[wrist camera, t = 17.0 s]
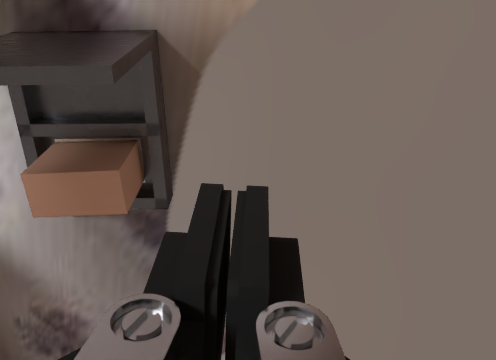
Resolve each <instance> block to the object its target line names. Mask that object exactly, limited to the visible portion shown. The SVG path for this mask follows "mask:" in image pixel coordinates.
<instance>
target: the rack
mask: <svg viewBox="0 0 496 360" xmlns="http://www.w3.org/2000/svg"><path fill="white" fill-rule="evenodd" d="M0 85H8V89H9V93H10V97H11V102H12V106H13V110H14V114H15V118H16V122H17V126H18V130H19V134H20V138H21V143H22V147H23V151H24V155H25V159H26V163H27V167H29V166H30V165H31V164H32V163H33V162H34V161H35V160H36V159H38V158H39V157H40V156H41V155H42V154H43V153H44V152H45V151H46V150H47V149H48V148H49V147H50V146H51V145H53V144H54V143H65V142H88V141H111V140H133V139H139V144H140V149H141V155H142V161H143V167H144V173H145V180H144V182H143V184H142V186H141V188H140V190H139V192H138V194H137V196H136V198H135V200H134V202H133V204H132V206H131V207H130V209H168V207H169V204H170V201H171V198H172V196H173V192H172V182H171V172H170V162H169V151H168V141H167V131H166V121H165V110H164V100H163V90H162V80H161V70H160V59H159V49H158V39H157V30H137V31H64V32H12V33H9V34H6V35H3V36H0Z"/></svg>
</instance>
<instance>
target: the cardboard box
mask: <svg viewBox="0 0 496 360" xmlns="http://www.w3.org/2000/svg"><path fill="white" fill-rule="evenodd" d="M21 178H22V181H23V184H24V188H25V191H26V195H27V198H28V201H29V205H30V208H31V212H32V215H33V217H59V216H86V215H113V214H127V213H128V211H129V209H130V207H131V206H132V204H133V202H134V200H135V198H136V196H137V194H138V192H139V190H140V188H141V186H142V184H143V182H144V180H145V173H144V167H143V161H142V155H141V149H140V144H139V139H133V140H111V141H88V142H65V143H54V144H53V145H51V146H50V147H49V148H48V149H47V150H46V151H45V152H44V153H43V154H42V155H41V156H40V157H39V158H38V159H36V160H35V161H34V162H33V163H32V164H31V165H30V166H29V167H28V168H27V169H26V170H25V171H24V172H23V173H22V174H21Z"/></svg>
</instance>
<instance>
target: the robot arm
mask: <svg viewBox="0 0 496 360" xmlns="http://www.w3.org/2000/svg"><path fill="white" fill-rule="evenodd" d="M223 188H224V187H223V185H222V184H205V183H202V184H201V187H200V190H199V194H198V197H197V201H196V205H195V208H194V212H193V215H192V219H191V223H190V226H189V230H188V233H181V232H180V233H179V232H166V233H165V235H164V237H163V240H162V243H161V245H160V248H159V251H158V254H157V257H156V259H155V262H154V265H153V268H152V271H151V273H150V276H149V279H148V282H147V284H146V287H145V290H144V293H143V294H138V295H132V296H129V297H127V298H124V299H121V300H120V301H118V302H117V303H115V304H113V305H112V306H111V307H110V308H109V309H108V310H107V311H106V312H105V314H104V315H103V317H102V318H101V320H100V321H99V323H98V324H97V326H96V327H95V329H94V330H93V332H92V333H91V335H90V336H89V338H88V339H87V341H86V342H85V344H84V345H83V347H81V348H79V349H77V350H75V351H74V352H72V353H70V354H68V355H66V356H64V357H62V358H60V359H58V360H221V354H222V345H223V336H224V327H225V318H226V347H225V360H350V359H348V358H347V357H346V356H344V353H343V351H342V348H341V345H340V343H339V340H338V338H337V335H336V332H335V330H334V327H333V325H332V323H331V322H330V320H329V318H328V317H327V316H326V315H325V314H324V313H323V312H322V311H320V310H319V309H317V308H315V307H313V306H311V305H309V304H305V299H304V290H303V282H302V272H301V264H300V255H299V246H298V239H297V238H280V237H269V211H268V187H265V186H247V190H246V191H238V195H237V204H236V213H235V221H234V230H233V239H232V248H231V256H230V229H231V190H224V189H223Z"/></svg>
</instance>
